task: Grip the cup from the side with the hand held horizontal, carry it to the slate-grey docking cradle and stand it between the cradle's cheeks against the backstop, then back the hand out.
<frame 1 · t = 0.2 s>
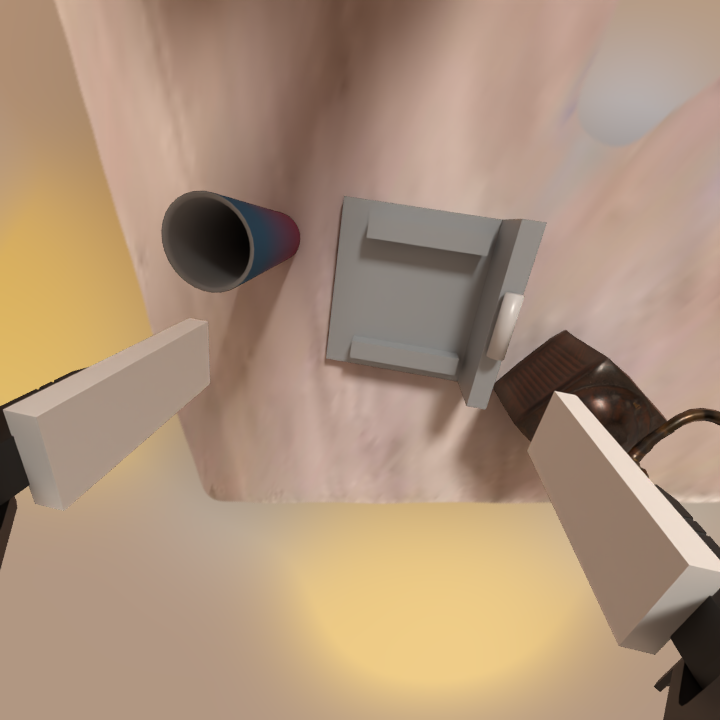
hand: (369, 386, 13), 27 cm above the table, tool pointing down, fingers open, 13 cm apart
manual coffee grinder: (572, 373, 40), on the table
cup: (278, 236, 38), on the table
dock: (414, 295, 39), on the table
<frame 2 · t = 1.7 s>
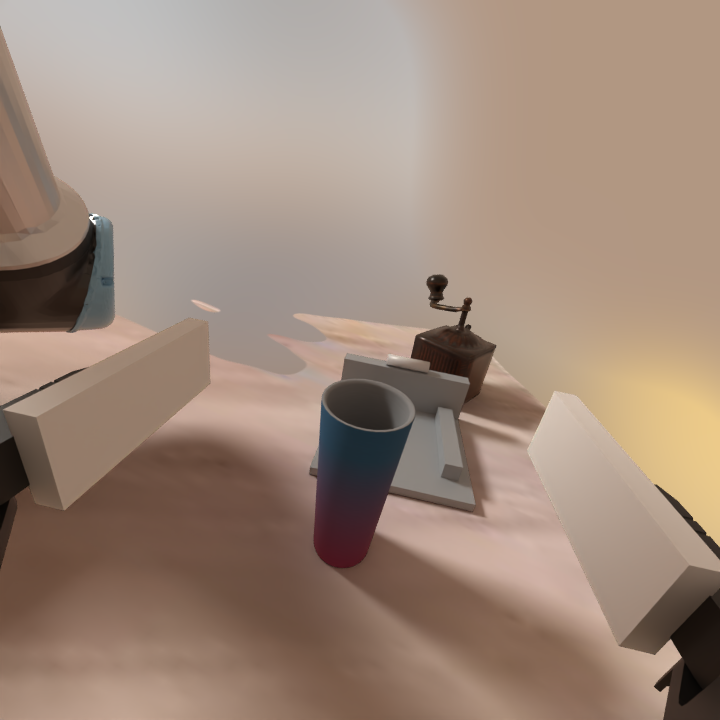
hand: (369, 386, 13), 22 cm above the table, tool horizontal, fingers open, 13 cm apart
manual coffee grinder: (431, 381, 63), on the table
cup: (341, 542, 31), on the table
dock: (394, 440, 45), on the table
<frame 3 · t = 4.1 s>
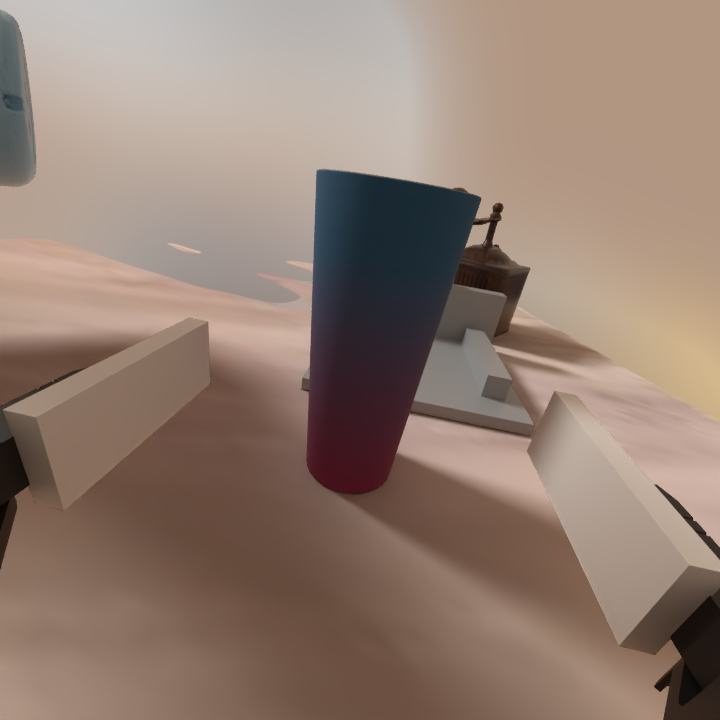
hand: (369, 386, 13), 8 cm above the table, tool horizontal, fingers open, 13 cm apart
manual coffee grinder: (450, 319, 53), on the table
cup: (348, 464, 21), on the table
dock: (412, 364, 35), on the table
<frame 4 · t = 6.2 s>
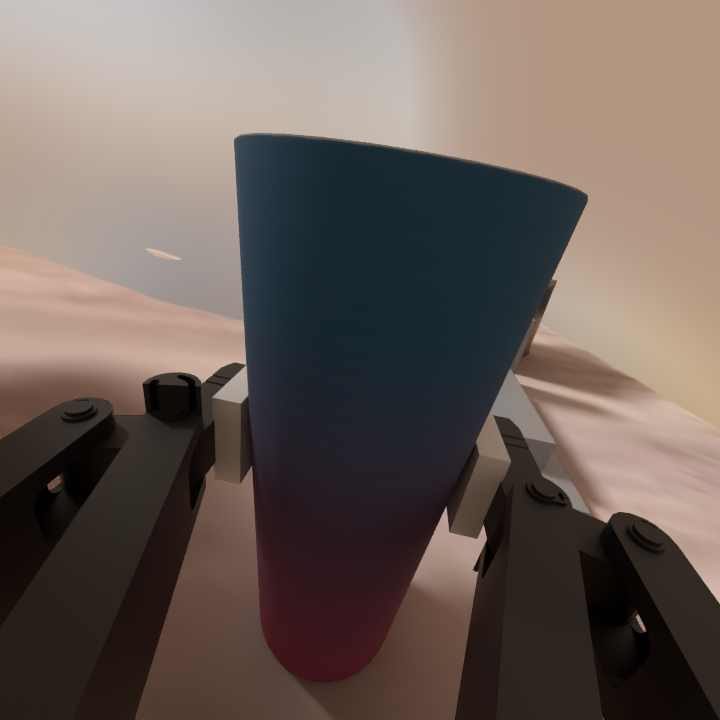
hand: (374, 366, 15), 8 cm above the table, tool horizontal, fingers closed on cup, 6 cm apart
manual coffee grinder: (460, 338, 46), on the table
cup: (326, 604, 14), on the table, touching gripper
dock: (419, 407, 28), on the table
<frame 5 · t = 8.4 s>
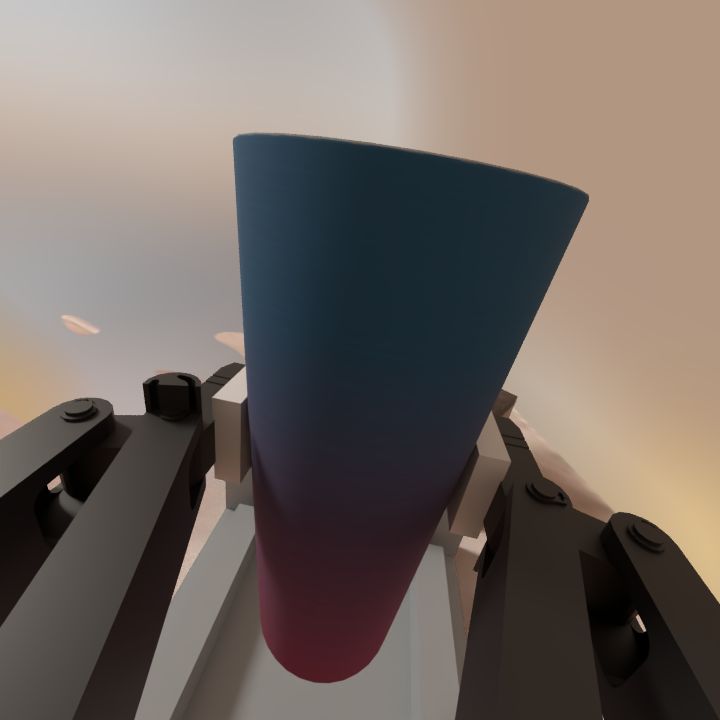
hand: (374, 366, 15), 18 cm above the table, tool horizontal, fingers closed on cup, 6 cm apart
manual coffee grinder: (409, 451, 38), on the table
cup: (325, 605, 14), point 10 cm above the table, touching gripper
dock: (316, 644, 20), on the table
when the fingers open (10 cm above the table, at t = 10.4 s): cup drops 1 cm, resting on dock.
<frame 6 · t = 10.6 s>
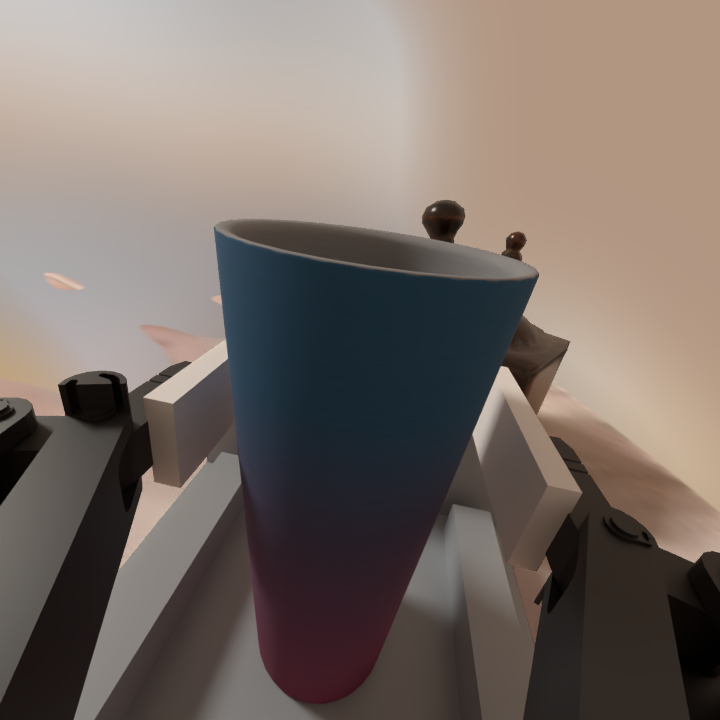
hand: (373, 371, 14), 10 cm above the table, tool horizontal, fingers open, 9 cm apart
manual coffee grinder: (433, 413, 32), on the table
cup: (321, 625, 14), point 1 cm above the table, touching dock
dock: (320, 636, 15), on the table
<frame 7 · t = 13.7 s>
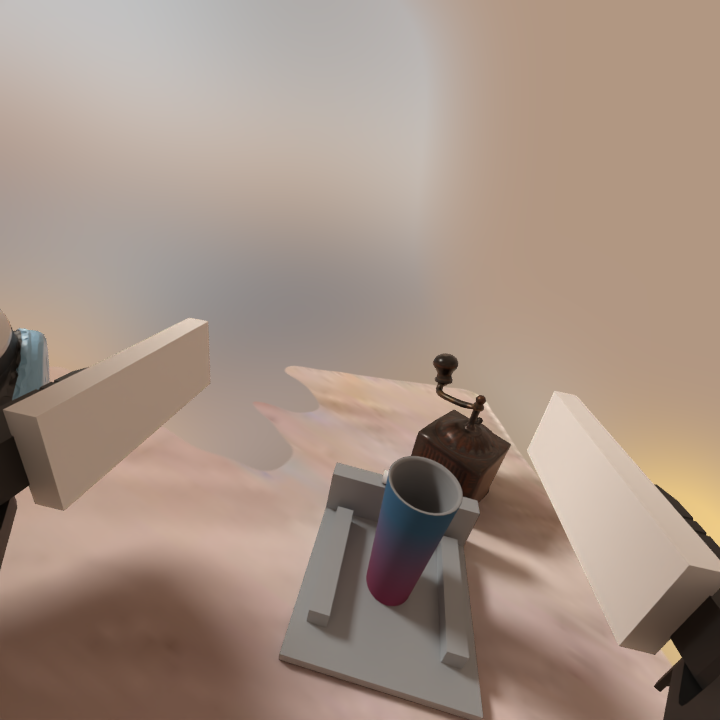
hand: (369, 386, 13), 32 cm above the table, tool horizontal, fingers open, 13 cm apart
manual coffee grinder: (434, 473, 55), on the table
cup: (388, 582, 37), point 1 cm above the table, touching dock
dock: (386, 586, 38), on the table
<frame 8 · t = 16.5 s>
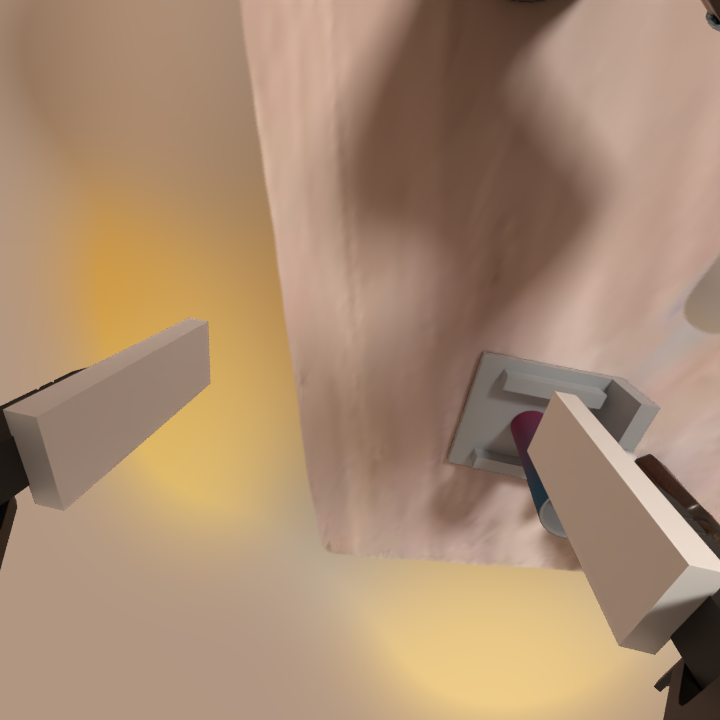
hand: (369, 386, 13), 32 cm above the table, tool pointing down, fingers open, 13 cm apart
manual coffee grinder: (651, 483, 50), on the table
cup: (529, 424, 47), point 1 cm above the table, touching dock
dock: (527, 421, 48), on the table
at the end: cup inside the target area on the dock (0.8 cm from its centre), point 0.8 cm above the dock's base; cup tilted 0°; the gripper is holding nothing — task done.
